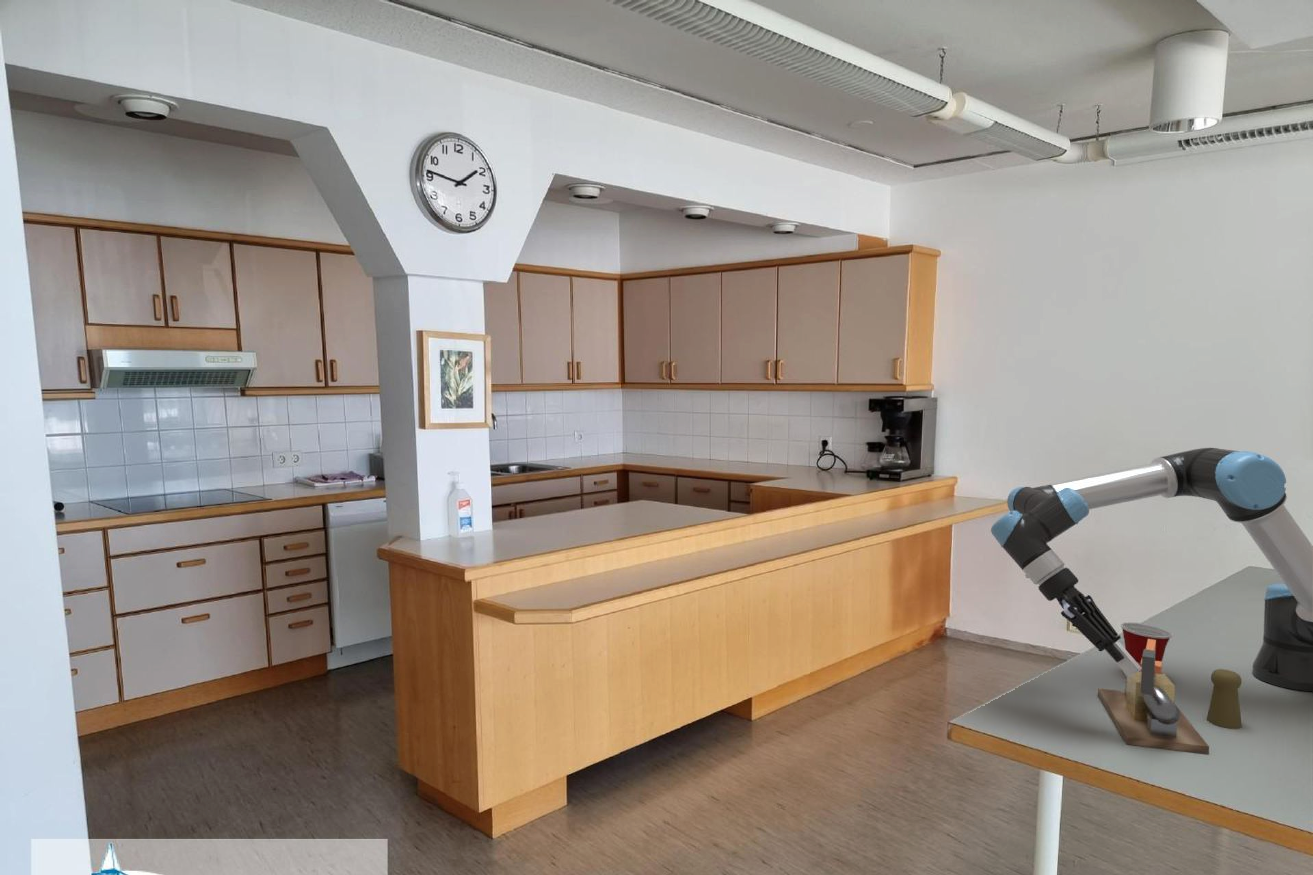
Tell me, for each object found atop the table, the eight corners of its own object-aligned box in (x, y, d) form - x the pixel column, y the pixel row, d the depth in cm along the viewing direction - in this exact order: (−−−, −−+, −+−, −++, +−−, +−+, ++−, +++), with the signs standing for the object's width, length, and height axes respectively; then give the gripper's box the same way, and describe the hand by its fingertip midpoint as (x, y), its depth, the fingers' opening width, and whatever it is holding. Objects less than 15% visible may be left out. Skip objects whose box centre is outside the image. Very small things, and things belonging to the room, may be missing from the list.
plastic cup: (1178, 686, 190) (1180, 635, 189) (1127, 682, 192) (1129, 633, 191) (1159, 669, 200) (1161, 622, 199) (1111, 666, 202) (1113, 619, 202)
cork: (1242, 730, 166) (1245, 678, 165) (1207, 724, 169) (1209, 672, 168) (1240, 720, 171) (1243, 669, 170) (1206, 714, 174) (1208, 664, 173)
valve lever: (1141, 671, 172) (1142, 633, 171) (1161, 675, 170) (1162, 636, 169) (1135, 696, 158) (1137, 655, 158) (1157, 700, 156) (1159, 658, 156)
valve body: (1151, 695, 180) (1153, 660, 180) (1186, 741, 157) (1188, 701, 157) (1116, 691, 182) (1117, 657, 182) (1145, 736, 160) (1147, 697, 159)
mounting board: (1168, 702, 180) (1168, 695, 180) (1208, 753, 156) (1209, 746, 155) (1097, 694, 184) (1098, 688, 184) (1126, 744, 160) (1126, 736, 160)
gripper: (1048, 580, 179) (1129, 673, 169) (1026, 592, 170) (1110, 691, 160) (1075, 561, 175) (1159, 655, 165) (1054, 571, 166) (1142, 672, 156)
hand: (1135, 672), depth 162 cm, fingers closed
